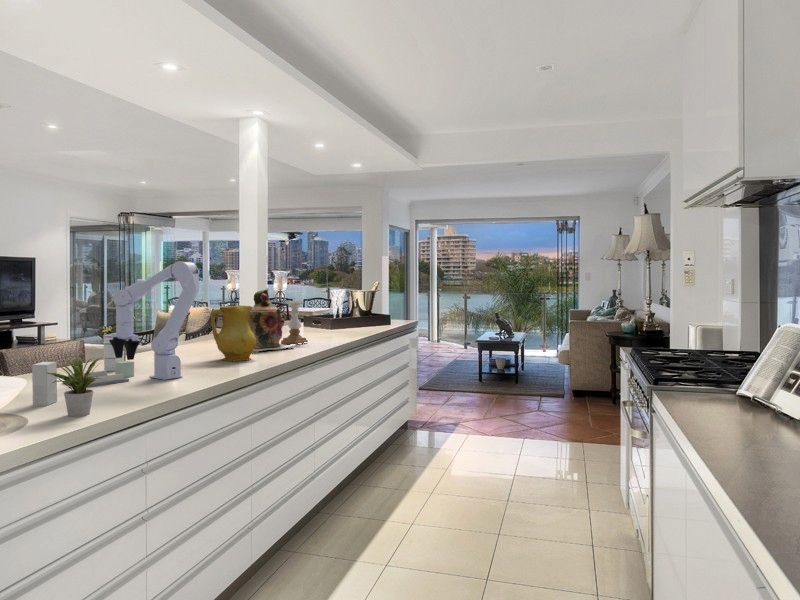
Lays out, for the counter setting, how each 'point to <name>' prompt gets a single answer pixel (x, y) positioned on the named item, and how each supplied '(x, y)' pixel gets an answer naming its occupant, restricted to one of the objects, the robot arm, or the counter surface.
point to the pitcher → (234, 333)
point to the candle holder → (294, 325)
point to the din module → (125, 368)
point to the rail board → (104, 378)
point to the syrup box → (111, 354)
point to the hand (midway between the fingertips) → (124, 358)
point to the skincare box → (44, 383)
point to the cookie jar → (266, 323)
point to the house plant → (78, 388)
